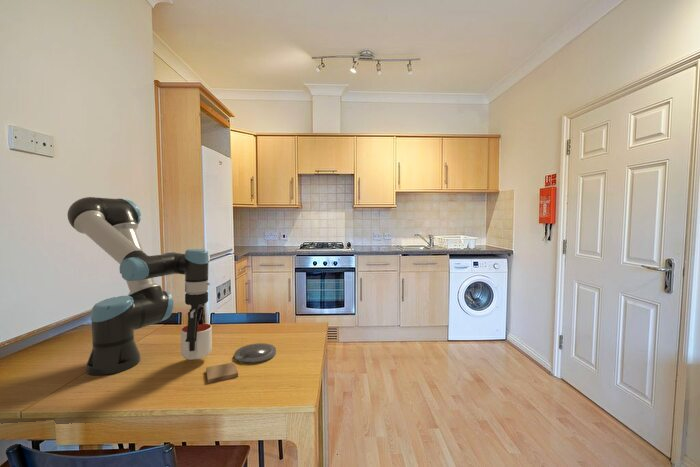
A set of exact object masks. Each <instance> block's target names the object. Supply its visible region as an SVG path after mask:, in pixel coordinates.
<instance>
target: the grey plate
mask: <svg viewBox="0 0 700 467" xmlns="http://www.w3.org/2000/svg"><path fill="white" fill-rule="evenodd" d="M276 353H277V348H276V346H274V345H273V344H270V343H263V342H262V343H251V344H246V345H243V346H241V347H239V348H238V349H237V350H235V352H234V360H235V361H236V362H237V363H241V364H246V365H247V364H248V365H252V364H254V365H255V364H259V363H265V362H267V361H270V360H271V359H273V358H274V357H275V356H276V355H277V354H276Z"/></svg>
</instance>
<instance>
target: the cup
mask: <svg viewBox="0 0 700 467" xmlns="http://www.w3.org/2000/svg"><path fill="white" fill-rule="evenodd" d="M187 326H188V325H185V326H183V327H182V328H181V329H180V355H181V357H182V358H183V359H186V360H188V342H185V340H186V339H187ZM212 328H213V327H212V325H211V324H210V323H206V322H205V323H203V324H201V325H198V330H197V338H196V339H197V359H196V360H199V359H202V358H203V359H204V357H205V358H206V357H207V356H208V355H209V354H211V352H212V350H213V349H212V347H213V344H212V336H213V333H212V332H213V331H212V330H213V329H212Z"/></svg>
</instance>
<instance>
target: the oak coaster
mask: <svg viewBox="0 0 700 467" xmlns="http://www.w3.org/2000/svg"><path fill="white" fill-rule="evenodd" d="M205 372H206V378H207V384H211V383H215V382H219V381H220V382H221V381H224V380H228V379H229V380H230V379H232V378H238V377H239V372H238V369H237V367H236V364H235V362H228V363H223V364H218V365H212V366H208V367H205Z"/></svg>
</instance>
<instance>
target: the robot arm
mask: <svg viewBox="0 0 700 467" xmlns="http://www.w3.org/2000/svg"><path fill="white" fill-rule="evenodd" d="M66 215H67V220H68V223H69V224H70V226H71V227H72V228H73V229H74V230H75V231H76V232H78V233H79V234H84V235H86V236H87V237H89V238H90V240H92V242H94V243H96V245H97V246H99V247H100V248H101V249H102V250H103V251H104V252H105V253H106V254H108V255H109V256H110V257H111V258H112V259H113V260H114V261H116V263H118V264H119V274H121V277H122V279H123V280H124V281H126V283H127V284H126V285H127V286H128V290H129V293H128V294H127V295H119V296H113V297H110V298H109V297H108V298H105V299H103V300H100V301H98V302H97V303H95V304H94V305H93V306H92V309H91V317H90V321H91V334H92V335H91V336H92V349H91V351H90V354H89V356H88V360H87V361H86V362H87V363H86V373H87V375H91V376H105V375H106V376H107V375H112V374H117V373H120V372H123V371H126V370H129V369H131V368H133V367H135V366H136V365H138V364H139V363H140V361H141V354H140V351H139V349H138V348H139V347H138V346H137V344H136V342H135V339H134V338H135V337H134V336H135V335H134V334H135V331H136V330H138V329H142V328H145V327H149V326H151V325H155V324H158V323H161V322H163V321H165V320H167V319H169V318H170V316H171V315H172V314H173V310H174V307H175V306H174V305H175V303H174V297H173V296H172V294H171V293H170V292H169V291H167V290H163V289H162V286H161V285H160V284H157V283H156V282H155V279H154V278H159V277H165V276H169V275H170V276H171V275H184V292H185V294H184V303H185V304H186V305H188V306H190V309H189V311H188V312H187V325H186V326H187V339H186V340H185V342H188V359H187V360H190V361H191V360H198V359H197V339H196V338H197V330H198V325H201V324H203V323H206V313H205V312H206V311H205V304H208V302H209V286H210V285H211V283H210V282H209V263H210V260H209V251H208V250H207V249H205V248H191V249H189V248H188V249H187V250H185V253H180V252H179V253H178V252H176V251H175V252H173V251H172V252H165V253H163V254H156V255H148V254H146V253H145V252H144V251H143V248H142V244H141V242H140V239H139V237H138V234H137V229H138V228H139V224H140V223H141V220H142V218H141V217H142V213H141V210H140V208H139V206H138V205H137V204H136V203H135V202H134V201H132V200H130V199H123V198H108V197H94V196H93V197H92V196H88V197H87V196H86V197H82V198H79V199H77V200H75V201H74V202H73V203H72V204H71V205H70V206H69V208H68V210H67V214H66Z"/></svg>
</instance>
